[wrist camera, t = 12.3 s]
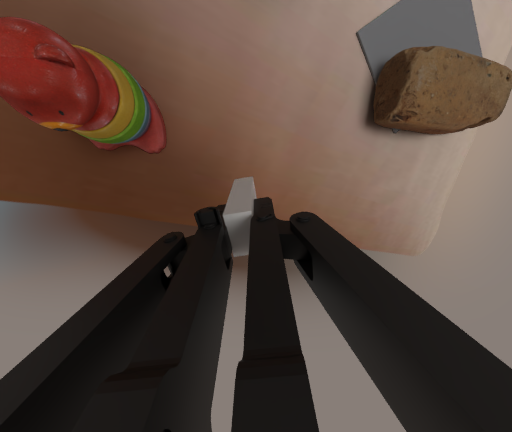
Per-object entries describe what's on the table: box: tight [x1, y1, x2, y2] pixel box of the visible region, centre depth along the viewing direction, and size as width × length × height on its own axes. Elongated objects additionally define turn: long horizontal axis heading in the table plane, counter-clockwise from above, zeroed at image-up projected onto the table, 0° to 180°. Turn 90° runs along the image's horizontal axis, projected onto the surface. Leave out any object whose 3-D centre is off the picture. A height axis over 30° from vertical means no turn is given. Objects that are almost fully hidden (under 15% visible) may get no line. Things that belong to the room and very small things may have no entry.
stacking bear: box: [0, 17, 166, 153], centre depth 22 cm, size 11×10×18 cm
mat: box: [356, 0, 482, 133], centre depth 34 cm, size 18×20×1 cm
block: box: [373, 46, 512, 134], centre depth 33 cm, size 11×8×20 cm
